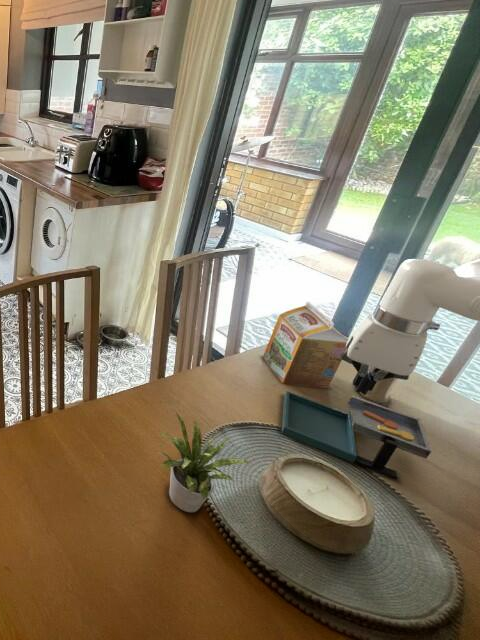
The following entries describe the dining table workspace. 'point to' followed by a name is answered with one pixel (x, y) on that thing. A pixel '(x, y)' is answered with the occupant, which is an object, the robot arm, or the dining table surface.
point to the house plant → (194, 470)
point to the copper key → (382, 420)
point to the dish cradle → (381, 458)
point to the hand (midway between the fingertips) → (359, 389)
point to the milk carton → (305, 347)
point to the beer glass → (381, 389)
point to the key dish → (370, 429)
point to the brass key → (397, 432)
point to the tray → (318, 426)
